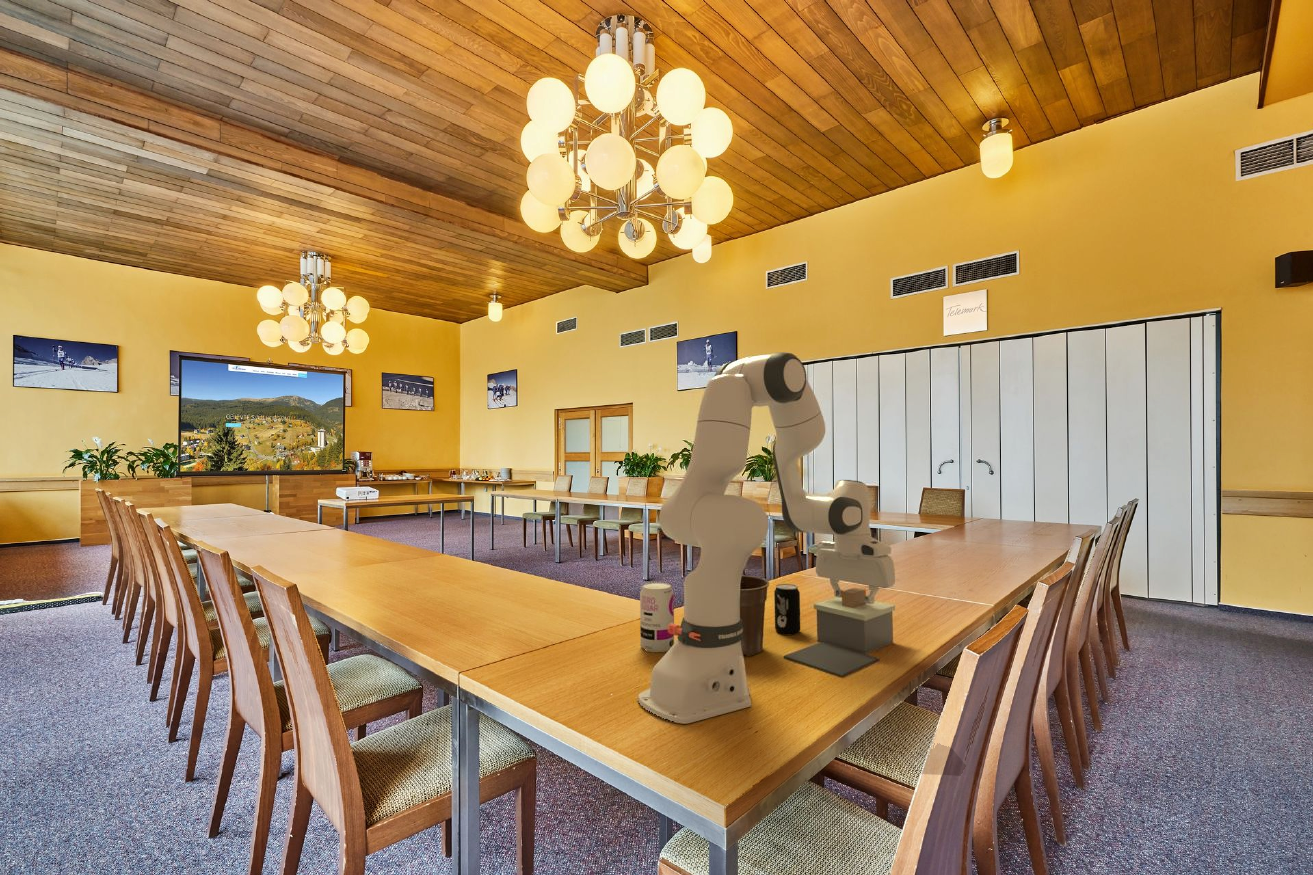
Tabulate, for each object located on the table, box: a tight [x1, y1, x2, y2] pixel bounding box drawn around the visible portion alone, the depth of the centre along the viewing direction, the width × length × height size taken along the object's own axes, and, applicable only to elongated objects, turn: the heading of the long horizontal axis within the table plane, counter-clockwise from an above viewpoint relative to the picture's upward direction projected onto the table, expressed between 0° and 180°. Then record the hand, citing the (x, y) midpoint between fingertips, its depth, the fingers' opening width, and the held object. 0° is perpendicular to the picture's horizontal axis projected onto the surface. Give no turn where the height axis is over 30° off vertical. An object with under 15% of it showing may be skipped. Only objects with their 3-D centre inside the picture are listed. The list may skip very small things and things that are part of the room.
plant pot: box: [740, 575, 770, 657], centre depth 135 cm, size 16×16×16 cm
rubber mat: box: [783, 642, 880, 678], centre depth 127 cm, size 15×15×1 cm
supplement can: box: [639, 582, 675, 653], centre depth 136 cm, size 8×8×15 cm
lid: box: [813, 587, 896, 621], centre depth 140 cm, size 14×14×6 cm
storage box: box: [816, 609, 894, 655], centre depth 139 cm, size 13×13×8 cm
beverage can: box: [773, 583, 801, 636], centre depth 148 cm, size 7×7×12 cm
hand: (853, 600), depth 140 cm, fingers open, 7 cm apart
